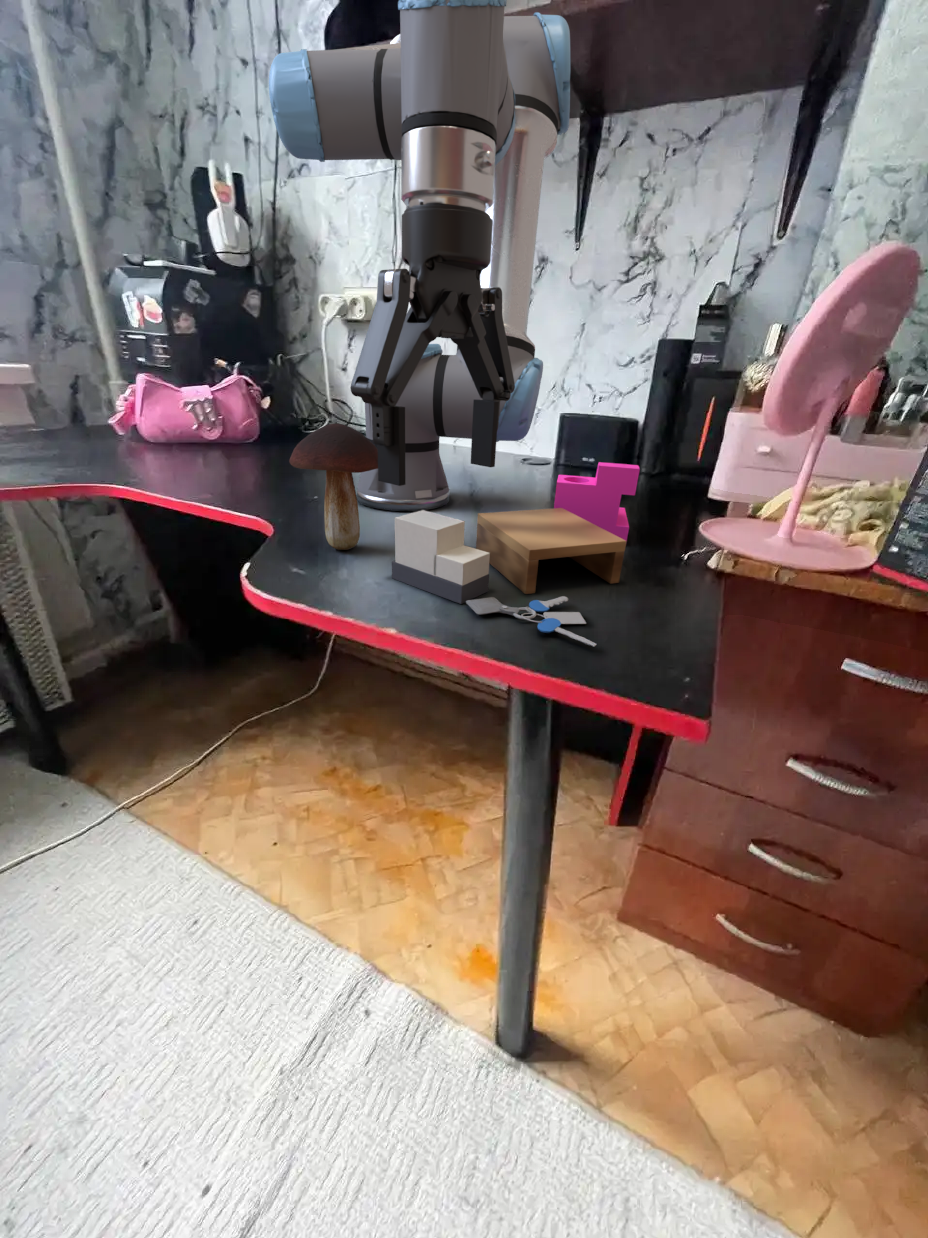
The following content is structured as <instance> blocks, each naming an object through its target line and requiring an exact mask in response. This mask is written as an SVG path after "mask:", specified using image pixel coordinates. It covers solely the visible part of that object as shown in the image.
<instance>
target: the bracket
mask: <svg viewBox="0 0 928 1238" xmlns="http://www.w3.org/2000/svg"><path fill="white" fill-rule="evenodd" d="M640 470H641V469H640V466H639V464H627V463H615V462H601V461H598V464H597V468H596V473H595V477H592V476H581V475H570V474H569V475H568V474H558V476H557V480H556V485H555V486H556V487H555V495H554V503H553V508H563V509H565V510H567V511H569V512H571V513H573V514H575V515H577V516H579V517H581V518H583V519H585V520H587V521H588V522H590V523H592V524H594V525H596V526H598V527H600V528H602V529H604V530H606V531H608V532H610V533H612V534H614V535H616V536H618V537H620V538H622V539H624V540H626V543H627V542H628V535H629V530H630V524H629V519H628V517H627V516H628V515H627V512H626V507H620V506H621V500H622V495H625V496H636V492H637V486H638V481H639V477H640V476H639V475H640Z"/></svg>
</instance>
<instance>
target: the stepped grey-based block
mask: <svg viewBox="0 0 928 1238" xmlns="http://www.w3.org/2000/svg"><path fill="white" fill-rule="evenodd" d="M465 526H466V521H465V520H461V519H458V518H453V517H450V516H446V515H443V514H439V513H435V512H432V511H429V510H419V511H413V512H411V513H407V514H403V515H399V516H396V517H394V555H395V556H394V559H395V560H391V579H394V580H396V581H399V582H402V583H404V584H407V585H409V586H412V587H414V588H417V589H420V590H423V591H425V592H426V593H427V592H428V593H431V594H432V595H436V596H438V597H441V598H444V599H446V600H449V601H451V602H455V603H456V604H459V605H463V604H466V601H467V600H474V599H476V598H478V597H479V596H482V595H484V594H486V593H488V592H489V585H490V584H489V583H490V563H489V559H490V553H488V552H485V551H482V550H478V549H476V547H475V548H474V547H471V546H468V545H465Z"/></svg>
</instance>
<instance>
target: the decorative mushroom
mask: <svg viewBox="0 0 928 1238" xmlns="http://www.w3.org/2000/svg"><path fill="white" fill-rule="evenodd" d="M288 462H289V464H290V465H291V466H292V467H293V468H296V469H300V470H316V471H325V490H324V505H323V506H324V507H323V508H324V514H323V515H324V516H323V517H324V532H325V538H326V541H327V543H328V545H329V546H330V547H332V548H333V549H335V550H339V551H349V550H350V549H352V548H354V547H356V546H357V545H358V543H359V540H360V535H361V525H360V513H359V504H358V503H359V502H358V500H357V490H356V487H355V483H354V477H353V474H361V472H366V471H370V470H374V469H378V449H377V448H376V447H375V445H374V444H373V443H372V442H371V441H370V440H369V439H367V438H366V435H364V434H363V433H362V432H360V431H359V430H356V429H354V428H353V427H351V426H348V425H346V424H343V423H337V422H336V423H335V422H334V423H329V424H326V425H324V426H322V427H320V428H317V429H315V430H314V431H312V432H311V433H310V434H308V435H307V436H305V437H304V438H303V439H301V441H299V442H298V443H297V444H296V446H295V447H294V448H293V451H292V453H291V455H290V458H289V459H288Z"/></svg>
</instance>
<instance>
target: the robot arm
mask: <svg viewBox="0 0 928 1238" xmlns="http://www.w3.org/2000/svg"><path fill="white" fill-rule="evenodd" d="M507 2H508V1H507V0H398V1H397V10H398V11H399V23H400V27H399V28H400V29H399V31H400V33H399V34H397V35H396V36H395V37H394V38H393V39H392V40H391V41H390V43H384V44H374V45H365V46H354V47H346V48H337V49H321V50H319V49H317V50H315V49H314V50H307V48H301V49H300V50H297V51H288V52H286V51H285V52H280V53H278V54H277V55H275V56H274V58H273V60H272V62H271V65H270V68H269V74H268V94H269V95H268V96H269V103H270V108H271V113H272V117H273V121H274V125H275V129H276V131H277V132H276V133H277V134H278V137H279V139H280V141H281V143H282V144H283V146H284V148H285V149H286V151H287V152H288V153H289V154H290V155H291V156H293V157H295V159H300V160H312V161H319V162H320V163H325V162H326V161H359V160H361V161H363V160H364V161H365V160H368V161H369V160H390V161H400V164H401V165H400V168H401V169H400V171H401V172H400V174H401V175H400V176H401V177H400V179H401V181H400V182H401V183H400V200H401V201H402V203H403V204H404V205H405V206H407V208H405V210H404V211H403V213H402V214H401V259H402V261H403V263H405V264H406V266H409V267H408V268H409V269H407V268H390V269H381V270H380V271H379V273H378V275H377V290H376V303H375V305H374V309H373V312H372V316H371V319H370V322H369V325H368V329H367V332H366V334H365V337H364V340H363V341H364V342H363V345H362V347H361V350H360V353H359V357H358V360H357V363H356V367H355V370H354V374H353V377H352V380H351V383H350V392H351V394H352V395H353V396H354V397H358V398H361V401H362V402H363V403H364V419H365V420H364V422H365V437H366V438H367V439H369V440H370V441H371V442H372V443H373V444H374V445H375V447H376V448H377V449H378V469H374V470H370V471H366V472H361V473H359V474H360V475H359V479H358V481H357V484H356V485H357V486H356V497H357V502H358V503H360V504H362V505H363V506H367V507H369V508H374V509H376V510H377V509H378V510H385V511H392V512H393V511H395V512H418V511H421V510H424V511H429V510H433V509H437V508H441V507H443V506H445V505H447V504H448V503H449V501H450V488H449V487H450V486H449V483H448V480H447V477H446V473H445V470H444V466H443V462H442V459H441V454H440V438H451V439H466V440H467V439H468V440H471V443H470V445H471V446H470V464H471V465H476V466H479V467H480V466H481V467H486V468H495V467H496V453H497V443H499V442H518V441H521V440H523V439H524V438H525V437H527V435H528V433H529V431H530V429H531V425H532V423H533V419H534V416H535V412H536V407H537V404H538V399H539V394H540V389H541V383H542V378H543V371H544V361H543V360H542V359H540V358H538V357H535V356H536V355H535V354H536V345H535V343H534V342H533V341H532V340H531V339H530V338H529V336H528V333H527V332H528V323H529V314H530V313H529V312H530V303H531V295H532V284H533V274H534V264H535V255H536V245H537V244H536V243H537V233H538V223H539V213H540V204H541V193H542V185H543V184H542V183H543V175H544V173H543V172H544V165H545V164H544V163H545V160H546V159H548V158H549V157H550V156H551V155H552V154H553V152H554V151H555V148H556V145H557V143H558V136H561V135H563V134H567V132H568V130H569V128H570V114H571V113H570V112H571V32H570V27H569V26H570V25H569V24H568V22H567V20H566V18H565V17H563V16H562V15H558V14H542V13H541V12H538V11H536V12H534V13H533V14H532V15H505V8H506V7H507ZM409 305H410V307H409ZM437 338H441V339H450V341H451V342H452V343H454V344H455V345H456V353H455V354H443V352H444V351H443V349H442V346H441V344H440V343H432V342H434V341H435V340H437Z"/></svg>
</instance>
